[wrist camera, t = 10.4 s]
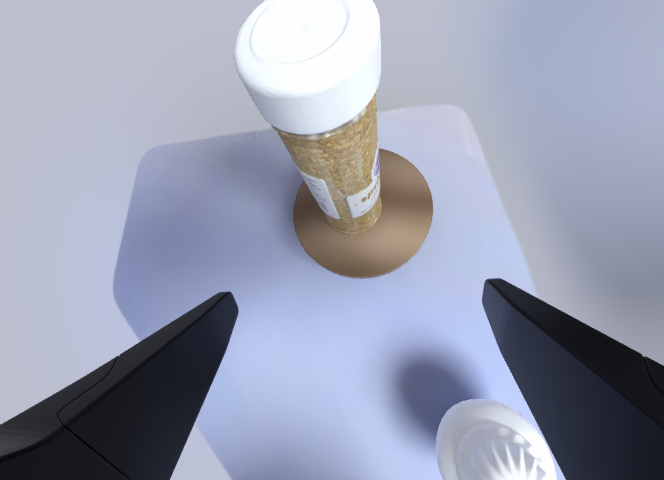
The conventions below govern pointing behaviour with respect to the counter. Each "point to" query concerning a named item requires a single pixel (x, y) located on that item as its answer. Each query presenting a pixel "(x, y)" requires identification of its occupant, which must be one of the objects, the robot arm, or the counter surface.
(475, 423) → the muffin
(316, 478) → the counter surface
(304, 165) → the sprinkles bottle
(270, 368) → the counter surface
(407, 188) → the walnut footstool
